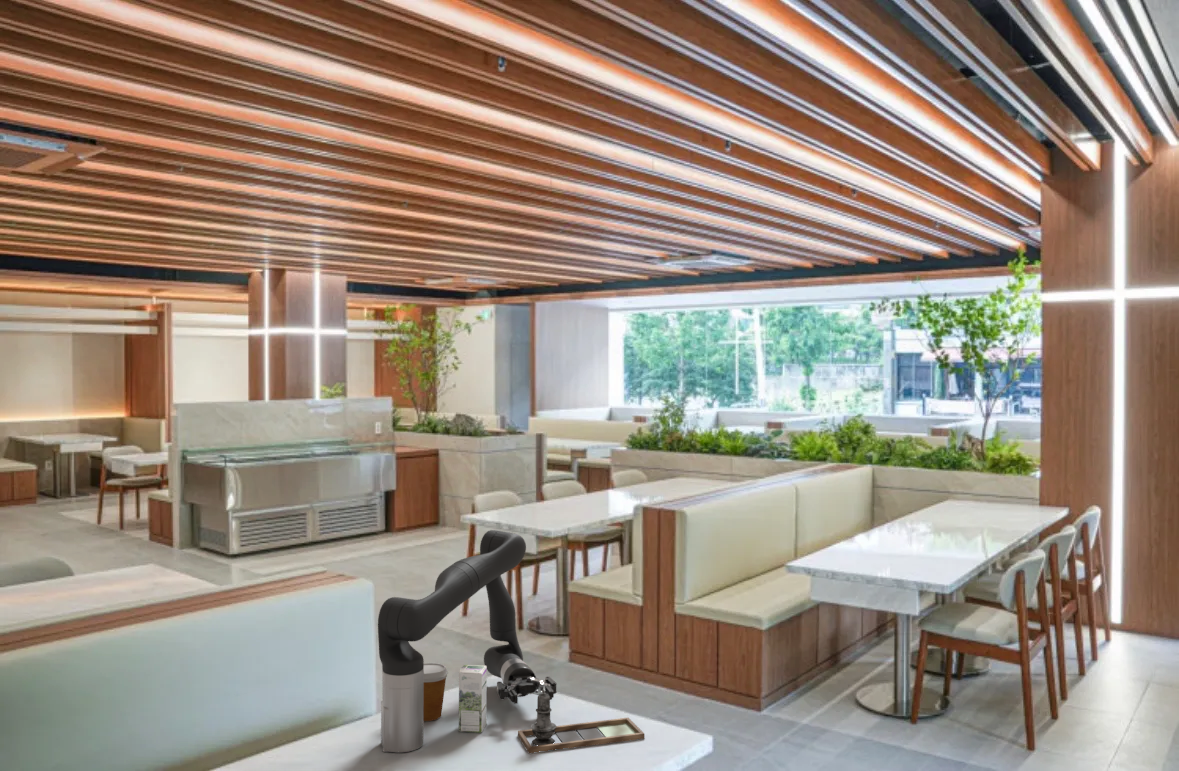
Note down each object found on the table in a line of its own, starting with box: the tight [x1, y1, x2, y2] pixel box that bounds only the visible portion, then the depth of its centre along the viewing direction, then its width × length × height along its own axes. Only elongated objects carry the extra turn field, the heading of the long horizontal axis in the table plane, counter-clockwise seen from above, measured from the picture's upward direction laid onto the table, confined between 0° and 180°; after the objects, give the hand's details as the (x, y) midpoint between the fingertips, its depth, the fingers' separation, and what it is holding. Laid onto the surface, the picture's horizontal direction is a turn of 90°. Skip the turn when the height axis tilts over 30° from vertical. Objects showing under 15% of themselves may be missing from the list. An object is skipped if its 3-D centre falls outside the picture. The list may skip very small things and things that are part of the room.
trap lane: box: [517, 717, 645, 754], centre depth 208 cm, size 28×11×1 cm, turn 108°
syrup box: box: [458, 664, 488, 734], centre depth 213 cm, size 6×6×14 cm
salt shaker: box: [530, 689, 557, 746], centre depth 205 cm, size 6×6×12 cm
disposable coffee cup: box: [423, 662, 449, 722], centre depth 221 cm, size 10×10×12 cm
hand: (533, 697), depth 214 cm, fingers open, 8 cm apart
